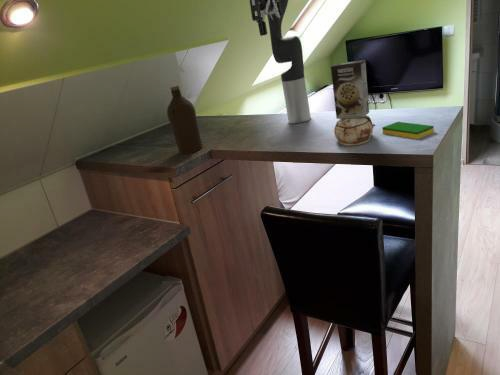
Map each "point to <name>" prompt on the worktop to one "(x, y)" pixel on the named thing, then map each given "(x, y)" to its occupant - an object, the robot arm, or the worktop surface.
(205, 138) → the worktop surface
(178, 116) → the olive oil
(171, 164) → the worktop surface
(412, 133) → the dish sponge
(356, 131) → the trinket box
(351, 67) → the coffee box
